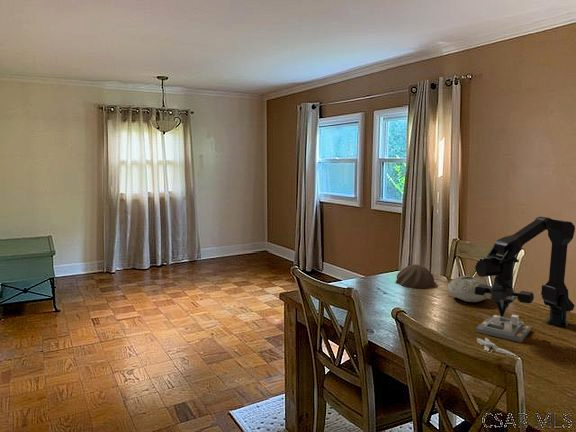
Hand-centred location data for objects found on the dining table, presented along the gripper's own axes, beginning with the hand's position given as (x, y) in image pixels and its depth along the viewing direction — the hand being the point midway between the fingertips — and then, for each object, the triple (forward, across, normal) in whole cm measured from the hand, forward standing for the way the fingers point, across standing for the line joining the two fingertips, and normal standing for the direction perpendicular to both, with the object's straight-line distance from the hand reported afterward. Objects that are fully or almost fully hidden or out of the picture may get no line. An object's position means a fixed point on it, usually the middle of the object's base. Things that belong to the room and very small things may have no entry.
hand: (502, 316), depth 159 cm
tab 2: (+4, +3, -4) cm, 7 cm away
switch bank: (+6, +1, 0) cm, 6 cm away
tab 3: (+4, +3, +5) cm, 7 cm away
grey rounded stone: (+6, -21, +30) cm, 37 cm away
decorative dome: (+6, -52, +42) cm, 67 cm away
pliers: (+6, +2, -20) cm, 21 cm away
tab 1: (+4, -2, 0) cm, 5 cm away
